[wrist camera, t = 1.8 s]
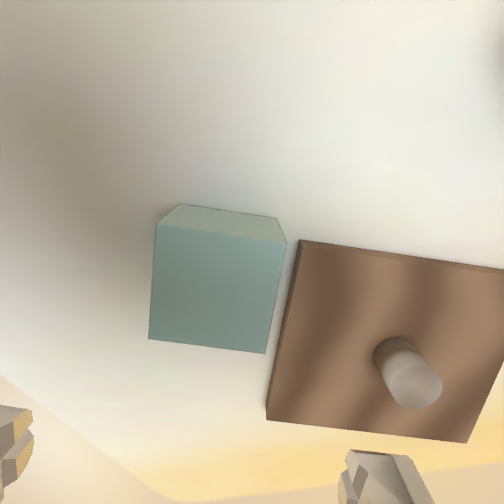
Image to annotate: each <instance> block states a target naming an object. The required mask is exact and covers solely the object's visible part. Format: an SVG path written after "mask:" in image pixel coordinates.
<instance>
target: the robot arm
mask: <svg viewBox="0 0 504 504" xmlns="http://www.w3.org/2000/svg"><path fill="white" fill-rule="evenodd" d="M32 422H33V419H32V411H30V410H28V409H23V408H16V407H10V406H3V405H0V502H1V501H2V500H3V498H4V497H3V496H4V487H6V486H7V485H9V484H10V483H12V482H14V481H15V480H17V479H18V477H19V476H20V475H21V473H22V472H23V470H24V469H25V467H26V465H27V463H28V461H29V459H30V456H31V454H32V450H33V445H34V437H33V435H32V433H31V432H30V431H29V430H28V429H27V428H28V427H29V426H30V424H31V423H32ZM345 462H346V465H347V469H346V470H345V471H344V472H343V473H341V476H340V480H339V484H338V500H339V504H435V503H434V501H433V499H432V497H431V495H430V493H429V492H428V490H427V488H426V486H425V484H424V482H423V480H422V478H421V476H420V474H419V472H418V471H417V469H416V467H415V465H414V463H413V461H412V460H411V459H410V458H409V457H408V456H404V455H395V454H386V453H378V452H370V451H361V450H352V449H350V451H349V452H348V453H347V456H346V459H345Z"/></svg>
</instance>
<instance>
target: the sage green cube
mask: <svg viewBox="0 0 504 504" xmlns="http://www.w3.org/2000/svg"><path fill="white" fill-rule="evenodd" d="M286 245H287V242H286V240H285V237H284V235H283V232H282V230H281V228H280V225H279V223H278V220H277V218H271V217H264V216H258V215H251V214H245V213H238V212H232V211H225V210H218V209H212V208H205V207H199V206H192V205H186V204H180V205H179V206H177V207H176V208H175V209H174V210H172V211H171V212H170V213H169V214H167V215H166V216H165V217H164V218H163V219H161V220H160V221H159V222H158V223H156V232H155V246H154V260H153V275H152V289H151V303H150V318H149V332H148V339H153V340H161V341H169V342H176V343H184V344H192V345H200V346H207V347H215V348H223V349H231V350H238V351H246V352H254V353H262V354H265V352H266V347H267V342H268V337H269V332H270V327H271V322H272V316H273V311H274V306H275V301H276V296H277V291H278V286H279V280H280V275H281V270H282V265H283V260H284V255H285V250H286Z"/></svg>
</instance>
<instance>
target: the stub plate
mask: <svg viewBox="0 0 504 504" xmlns="http://www.w3.org/2000/svg"><path fill="white" fill-rule="evenodd" d="M503 361H504V270H501V269H494V268H487V267H481V266H474V265H467V264H461V263H454V262H447V261H440V260H434V259H427V258H420V257H414V256H407V255H400V254H393V253H387V252H380V251H373V250H367V249H360V248H353V247H347V246H340V245H333V244H326V243H320V242H313V241H306V240H300V241H299V246H298V251H297V256H296V260H295V265H294V270H293V275H292V280H291V285H290V289H289V294H288V299H287V304H286V309H285V314H284V319H283V323H282V328H281V333H280V338H279V343H278V348H277V353H276V357H275V362H274V367H273V372H272V377H271V382H270V386H269V391H268V396H267V401H266V419H267V420H270V421H279V422H287V423H296V424H304V425H313V426H321V427H330V428H338V429H347V430H355V431H364V432H372V433H381V434H389V435H398V436H406V437H415V438H423V439H432V440H440V441H449V442H457V443H466V444H467V441H468V439H469V437H470V435H471V433H472V430H473V428H474V426H475V424H476V421H477V419H478V417H479V415H480V413H481V410H482V408H483V406H484V404H485V401H486V399H487V397H488V395H489V393H490V390H491V388H492V386H493V384H494V381H495V379H496V377H497V375H498V373H499V370H500V368H501V366H502V364H503Z"/></svg>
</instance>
